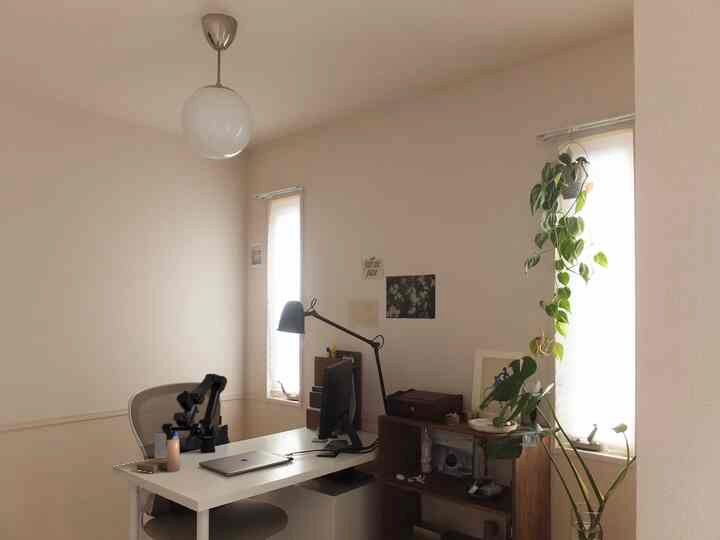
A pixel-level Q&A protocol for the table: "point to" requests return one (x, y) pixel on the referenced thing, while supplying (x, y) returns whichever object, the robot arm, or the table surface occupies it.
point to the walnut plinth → (153, 465)
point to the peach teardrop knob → (173, 455)
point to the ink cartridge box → (162, 444)
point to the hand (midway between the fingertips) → (176, 445)
